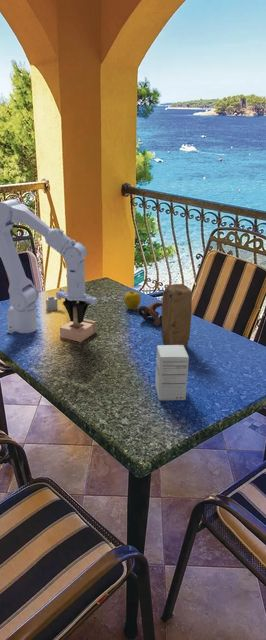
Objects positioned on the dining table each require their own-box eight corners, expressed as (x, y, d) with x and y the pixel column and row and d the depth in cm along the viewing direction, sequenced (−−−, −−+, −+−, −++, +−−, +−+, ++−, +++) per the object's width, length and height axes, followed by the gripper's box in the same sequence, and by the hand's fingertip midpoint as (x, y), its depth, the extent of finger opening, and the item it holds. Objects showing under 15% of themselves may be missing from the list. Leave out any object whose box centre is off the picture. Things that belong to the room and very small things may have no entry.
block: (190, 350, 147) (195, 290, 140) (168, 352, 145) (172, 292, 138) (178, 336, 157) (182, 280, 150) (157, 338, 155) (160, 282, 148)
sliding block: (60, 337, 151) (59, 327, 150) (73, 329, 158) (73, 319, 157) (80, 342, 148) (80, 332, 147) (93, 333, 155) (93, 324, 153)
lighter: (47, 310, 177) (46, 290, 175) (46, 309, 179) (45, 289, 176) (65, 308, 180) (64, 289, 177) (63, 307, 182) (63, 287, 179)
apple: (121, 307, 183) (121, 288, 180) (135, 305, 185) (136, 286, 182) (128, 312, 177) (128, 293, 175) (142, 310, 180) (143, 291, 177)
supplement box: (154, 386, 125) (156, 344, 120) (181, 386, 125) (184, 344, 121) (157, 401, 118) (160, 356, 113) (186, 400, 118) (189, 356, 114)
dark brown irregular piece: (164, 317, 176) (171, 303, 170) (164, 335, 169) (172, 321, 164) (134, 309, 174) (141, 295, 168) (133, 328, 167) (139, 313, 161)
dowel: (71, 327, 152) (71, 307, 149) (76, 324, 153) (76, 305, 151) (77, 328, 150) (76, 308, 148) (82, 326, 152) (81, 306, 150)
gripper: (49, 281, 146) (51, 321, 151) (88, 288, 140) (89, 329, 145) (62, 276, 152) (63, 314, 157) (100, 282, 146) (100, 322, 151)
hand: (76, 321), depth 151 cm, fingers closed on dowel, 2 cm apart
